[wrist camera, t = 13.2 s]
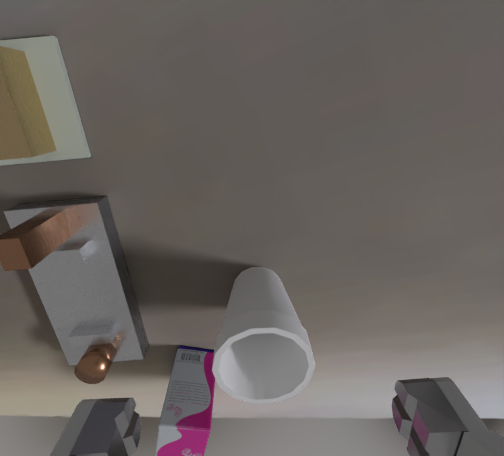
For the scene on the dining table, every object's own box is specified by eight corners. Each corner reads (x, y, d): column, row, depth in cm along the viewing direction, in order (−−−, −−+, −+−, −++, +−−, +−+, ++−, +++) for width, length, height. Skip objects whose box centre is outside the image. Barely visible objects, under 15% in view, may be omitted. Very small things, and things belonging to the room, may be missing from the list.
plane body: (19, 203, 35) (-57, 239, 26) (107, 195, 35) (61, 228, 26) (78, 351, 43) (36, 415, 34) (148, 345, 43) (125, 408, 34)
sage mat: (-60, 48, 29) (-68, 46, 28) (57, 37, 29) (52, 35, 28) (-11, 165, 33) (-17, 167, 32) (91, 156, 33) (87, 157, 32)
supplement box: (173, 374, 45) (152, 457, 35) (178, 344, 43) (157, 423, 33) (211, 379, 46) (202, 463, 36) (218, 350, 44) (211, 429, 33)
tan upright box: (-30, 56, 28) (-71, 49, 25) (24, 51, 28) (-9, 44, 24) (8, 154, 32) (-22, 162, 28) (56, 150, 32) (32, 157, 28)
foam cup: (307, 290, 40) (334, 371, 28) (253, 327, 42) (258, 417, 30) (261, 241, 37) (270, 308, 25) (206, 284, 40) (190, 364, 28)
